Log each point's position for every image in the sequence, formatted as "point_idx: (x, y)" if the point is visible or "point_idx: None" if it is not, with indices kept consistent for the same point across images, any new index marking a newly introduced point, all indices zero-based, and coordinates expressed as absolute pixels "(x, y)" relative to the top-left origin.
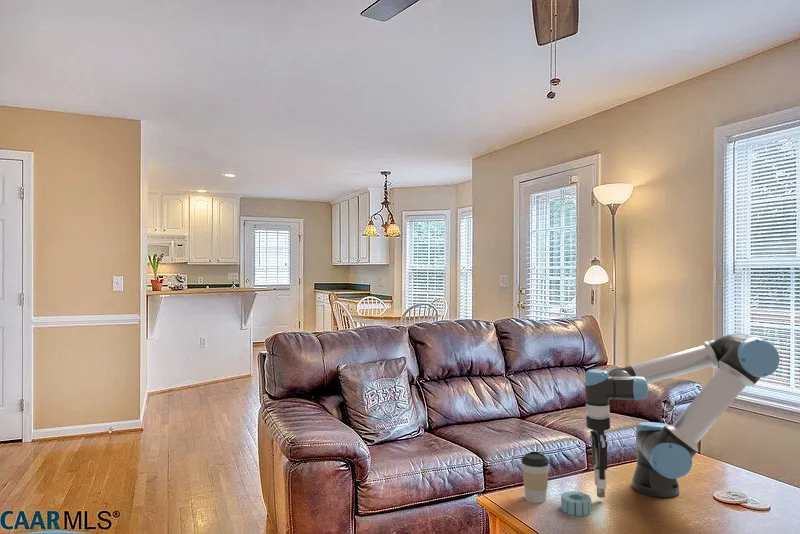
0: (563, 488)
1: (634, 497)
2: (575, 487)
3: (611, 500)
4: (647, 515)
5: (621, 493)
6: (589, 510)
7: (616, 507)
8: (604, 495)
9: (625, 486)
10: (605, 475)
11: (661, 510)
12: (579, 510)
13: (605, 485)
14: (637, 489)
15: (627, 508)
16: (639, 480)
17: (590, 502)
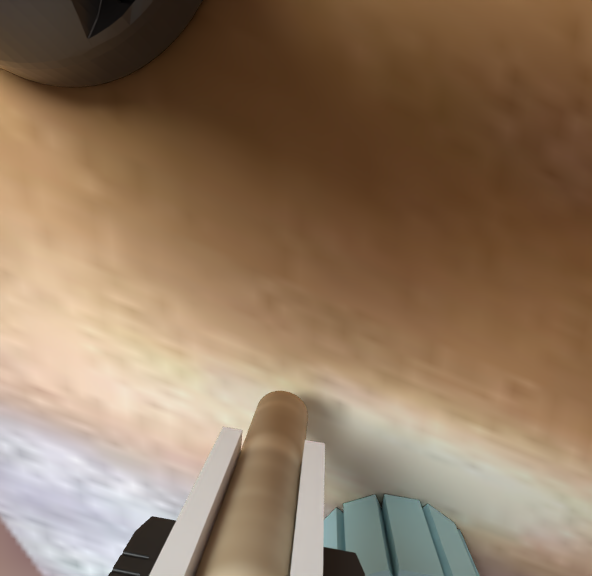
0: (115, 525)
1: (227, 149)
2: (95, 460)
3: (275, 328)
4: (524, 182)
5: (164, 217)
6: (457, 537)
7: (379, 339)
8: (298, 404)
9: (42, 136)
10: (321, 568)
11: (458, 30)
12: None
13: (324, 470)
14: (114, 72)
15: (400, 275)
16: (57, 7)
17: (456, 568)
